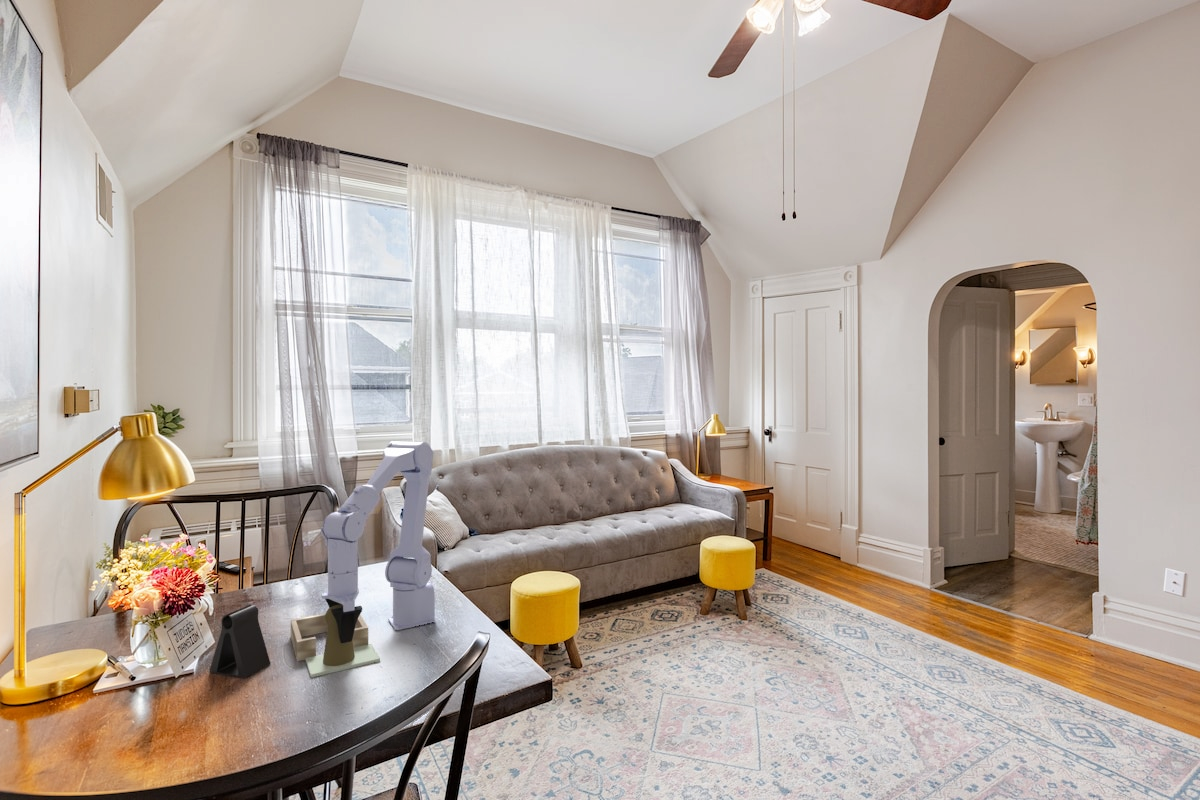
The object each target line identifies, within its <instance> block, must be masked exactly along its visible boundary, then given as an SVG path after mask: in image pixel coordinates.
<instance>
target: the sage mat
mask: <svg viewBox="0 0 1200 800" xmlns="http://www.w3.org/2000/svg"><path fill="white" fill-rule="evenodd" d="M354 655H355V658H354V659H353V660H352V661H351V662H349V663H346V664H344V665H339V666H327V665H325V664H323V657H324V653H322V654H318V655H316V656H313V657H309V658H306V659H305V663H306V666H307V669H308V670H307V671H308V672H309V673H308V674H309V676H310V678H316V677H319V676H324V675H328V674H331V673H336V672H341V671H344V670H349V669H353V668H357V667H361V666H366V665H370V664H374V662H375V663H379V662H381V658H380V656H379V654H378V652H377V651H376V649H375V647H374V645H373V644H372V643H368V645H363V646H359V647H354Z"/></svg>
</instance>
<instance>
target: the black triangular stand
mask: <svg viewBox="0 0 1200 800" xmlns="http://www.w3.org/2000/svg"><path fill="white" fill-rule="evenodd" d="M220 624H221V631H220V634H219V637H218V641H217V644H216V647H215V651H214V653H213V654H214V655H213V657H212V661H211V665H210V667H209V671H208V672H209V673H210V674H213V675H220V676H225V677H226V676H228V677H232V678H239V679H243V680H244V679H247V678H249V677H250V676H253V675H254V674H256V673H257V672H259V671H261V670H263V669H265V668H266V667H268V666H270V665H271V660H270V656H269V653H268V650H267V647H266V643H265V640H264V636H263V633H262V629H261V625H260V621H259V609H258V607H257V606H256V605H255V604H254V605H251V604H248V605H246V606H244V607H240V608H239V609H237V610H233V611H232V612H229V613H227V614H224V615H223V616H222V618H221V623H220Z"/></svg>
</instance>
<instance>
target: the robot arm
mask: <svg viewBox="0 0 1200 800" xmlns="http://www.w3.org/2000/svg"><path fill="white" fill-rule="evenodd" d="M433 461H434V451H433V449H432V447H431V445H430V444H429V443H428V442H426V441H421V442H417V441H415V442H414V441H398V440H392V441H390V442H389V443H388V444H387V446H386V448H384V450H383V451H382V461H381V462H380V463H379V465H378V466H377V468H376V469H375V470H374V472H373V473H372V475H371V477H370V478H369V480H368V481H367V482H366V484H360V485H357V486H355V488H354V489H353V490H352V493H351V494H350V495H349V497H347V499H345V500H344V503H343V504H342V505H341V506H340V507H339V509H337V511H333V512H331V513H329V514H328V515H327V516H326V517H324V519H323V522H322V527H320V533H321V536H322V538H323V539H324V542H325V543H324V545H325V547H326V548H327V591H326V592H322V593H321V599H322V600H324V601H325V602H326V604H327V605H328V609H329V608H330V607H332V606H335V605H342V608H336V609H331V612H332V614H333V616H334V618H335V620H336V623H337V628H338V634H339V639H340V642H341V643H346V642H351V641H352V639H353V635H354V630H355V626H356V622H357V620H358V617H359V615H361V613H362V611H363V606H362V605H356V604H355V602H356V599H357V597H358V595H359V593H360V589H359V588H358V587H359V584H358V583H359V575H358V574H359V566H358V565H359V554H358V553H359V551H358V550H359V549H358V547H359V543H358V542H359V538H361V536H363V534H364V532H365V531H364V530H365V526H366V523H367V521H368V517H369V516H370V515H371V513H372V512H373V510H375V508H376V507H377V506H378V504H379V503H380V501H381V496H380V493H381V492H382V491H383V490H384V488H386V487H387V485H389V483H390V482H391V481H392V480H393V478H395V477H396V475H397V474H400V475H402V476H403V477H404V479H405V480H406V483H405V484H406V486H405V494H404V503H403V510H402V519H401V520H402V521H401V527H400V536H399V543H398V544H399V545H398V546H397V547H395V548H394V549H393V550H391V551H390V553H389V556H388V557H389V558H388V561H387V564H386V566H385V570H384V575H385V580H386V581H387V582H388V583H390V585H389V586H390V588H392V617H388V618H387V620H388V623H390V625H391V626H392V627H393V629H394V630H395V631H401V630H405V629H410V628H414V627H415V626H416V627H420V626H424V624H425V625H428V624H427V623H430V624H432V623H431V622H434V623H436V622H435V621H436V618H435V617H436V615H435V614H436V613H435V612H436V611H435V609H436V604H435V603H436V596H435V595H436V594H435V589H434V588H435V587H434V585H433V584H432V582H429V581H430V579H431V578H432V573H433V567H432V561H431V560H432V558H431V557H432V554H431V553H430V552H429V551H428V550H427V549H426V548H425V546H423V541H424V539H423V538H424V530H425V522H426V521H425V520H426V512H427V501H428V495H429V486H430V485H429V483H430V477H431V476H432V472H433V471H432V470H433ZM419 625H420V626H419Z"/></svg>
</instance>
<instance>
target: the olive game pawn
mask: <svg viewBox="0 0 1200 800" xmlns="http://www.w3.org/2000/svg"><path fill="white" fill-rule="evenodd" d="M336 608H342V605H335V606H332V607H330V608H329V607H328V608H327V610H326V612H325V613H324V614H325V620H326V622H327V624H328V629H327V632H326V638H325V644H324V651H323V654H324V657H323V664H325V665H327V666H339V665H344V664H346V663H349V662H351V661H352V660H353V659H354V658H355V655H354V648H353V641H351V642H346V643H341V642H340V639H339V634H338V628H337V623H336V620H335V618H334V616H333V614H332V612H331V609H336Z"/></svg>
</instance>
